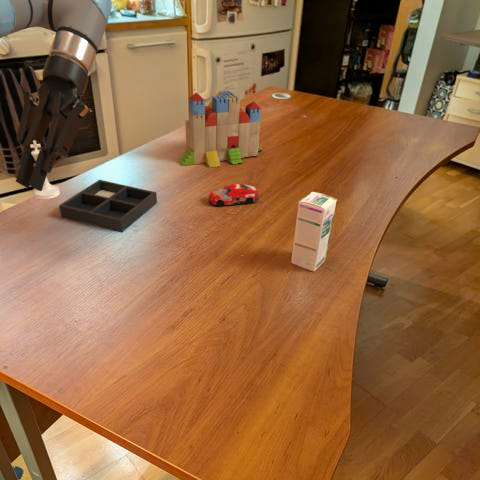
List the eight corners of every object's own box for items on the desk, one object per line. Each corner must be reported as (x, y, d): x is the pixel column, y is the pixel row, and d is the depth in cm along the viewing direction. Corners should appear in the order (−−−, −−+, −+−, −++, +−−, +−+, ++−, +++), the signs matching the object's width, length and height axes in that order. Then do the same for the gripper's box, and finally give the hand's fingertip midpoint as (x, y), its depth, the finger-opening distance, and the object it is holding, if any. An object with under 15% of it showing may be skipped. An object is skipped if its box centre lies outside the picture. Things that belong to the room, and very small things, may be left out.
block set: (253, 144, 152) (257, 80, 139) (273, 159, 142) (279, 92, 130) (171, 153, 142) (168, 85, 130) (186, 170, 132) (185, 99, 120)
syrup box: (314, 272, 96) (326, 208, 86) (289, 263, 98) (298, 199, 89) (325, 260, 100) (338, 198, 90) (301, 251, 102) (311, 190, 92)
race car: (210, 208, 116) (210, 193, 113) (206, 198, 119) (205, 184, 117) (260, 204, 119) (261, 189, 116) (254, 194, 123) (255, 180, 120)
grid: (61, 216, 108) (58, 205, 106) (101, 190, 120) (99, 179, 118) (122, 232, 104) (120, 220, 102) (157, 202, 116) (156, 192, 114)
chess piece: (32, 189, 89) (19, 137, 83) (59, 187, 91) (48, 135, 85) (33, 200, 86) (19, 146, 80) (60, 197, 87) (49, 144, 81)
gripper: (114, 85, 87) (75, 202, 85) (47, 74, 90) (9, 186, 89) (93, 58, 80) (50, 186, 78) (21, 47, 83) (-21, 169, 82)
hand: (28, 186), depth 84 cm, fingers closed on chess piece, 2 cm apart
